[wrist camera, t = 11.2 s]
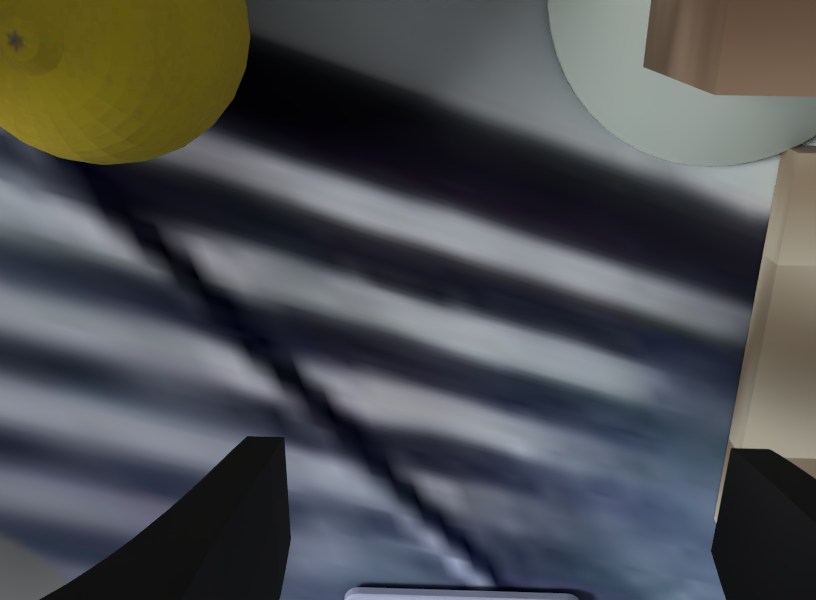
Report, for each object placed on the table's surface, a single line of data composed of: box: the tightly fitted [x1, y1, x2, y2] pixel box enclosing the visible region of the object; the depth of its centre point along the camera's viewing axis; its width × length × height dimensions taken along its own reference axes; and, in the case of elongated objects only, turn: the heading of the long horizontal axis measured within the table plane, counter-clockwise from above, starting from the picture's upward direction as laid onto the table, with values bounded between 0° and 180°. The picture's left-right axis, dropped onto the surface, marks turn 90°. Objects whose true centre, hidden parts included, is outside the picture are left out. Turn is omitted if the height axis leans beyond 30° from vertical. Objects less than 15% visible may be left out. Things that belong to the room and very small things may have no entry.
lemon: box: [0, 0, 250, 165], centre depth 16 cm, size 6×6×8 cm
